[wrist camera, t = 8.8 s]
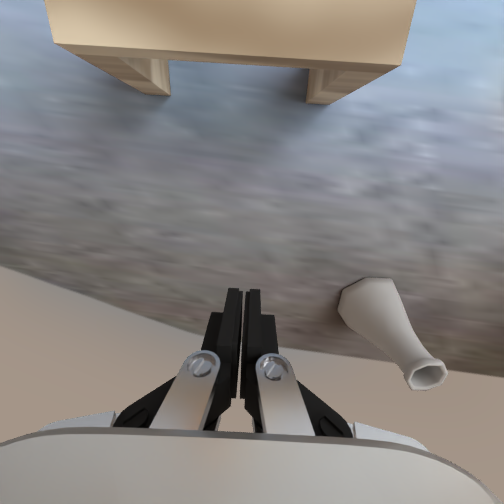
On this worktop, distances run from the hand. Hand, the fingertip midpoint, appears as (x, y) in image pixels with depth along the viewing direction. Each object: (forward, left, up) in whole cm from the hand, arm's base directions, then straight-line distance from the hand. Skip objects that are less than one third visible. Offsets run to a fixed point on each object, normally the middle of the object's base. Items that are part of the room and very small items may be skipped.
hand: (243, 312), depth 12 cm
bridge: (+1, -13, -12) cm, 18 cm away
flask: (-15, +8, -13) cm, 21 cm away
